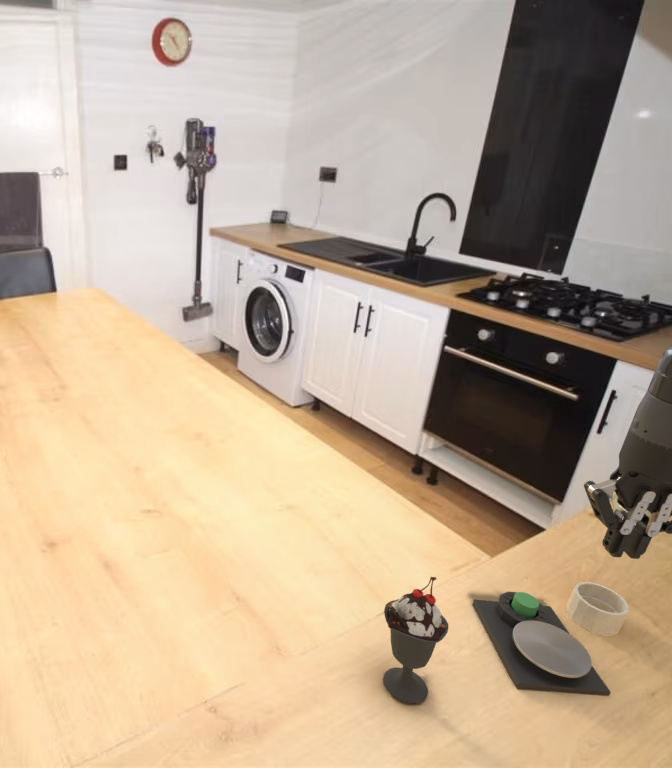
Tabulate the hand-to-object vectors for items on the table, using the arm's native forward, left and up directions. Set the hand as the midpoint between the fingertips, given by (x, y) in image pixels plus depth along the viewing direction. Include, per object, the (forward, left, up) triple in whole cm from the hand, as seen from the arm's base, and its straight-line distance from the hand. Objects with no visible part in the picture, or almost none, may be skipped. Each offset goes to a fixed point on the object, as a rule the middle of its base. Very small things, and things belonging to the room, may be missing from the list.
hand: (621, 553), depth 69 cm
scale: (+10, +6, -12) cm, 17 cm away
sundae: (+28, +13, -12) cm, 33 cm away
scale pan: (+10, +8, -9) cm, 16 cm away
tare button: (+10, +2, -9) cm, 14 cm away
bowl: (0, 0, -12) cm, 12 cm away
